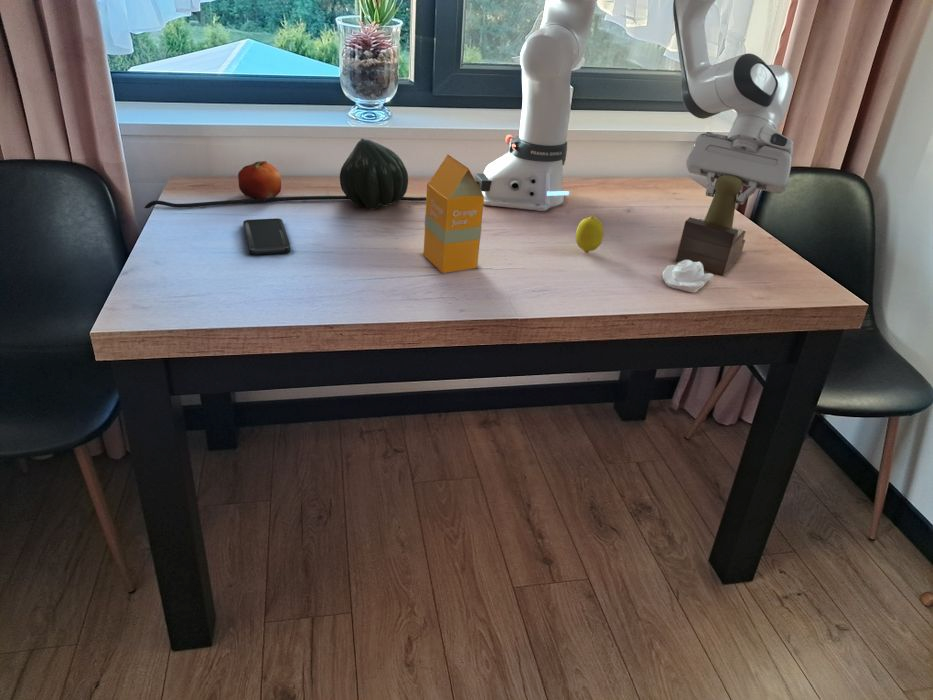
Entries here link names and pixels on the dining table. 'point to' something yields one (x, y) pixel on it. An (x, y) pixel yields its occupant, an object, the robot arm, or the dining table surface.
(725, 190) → the cork
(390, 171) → the squash
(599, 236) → the lemon
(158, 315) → the dining table surface
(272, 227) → the phone
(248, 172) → the tomato
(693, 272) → the rose
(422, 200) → the robot arm
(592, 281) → the dining table surface
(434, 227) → the orange juice
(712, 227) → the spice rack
